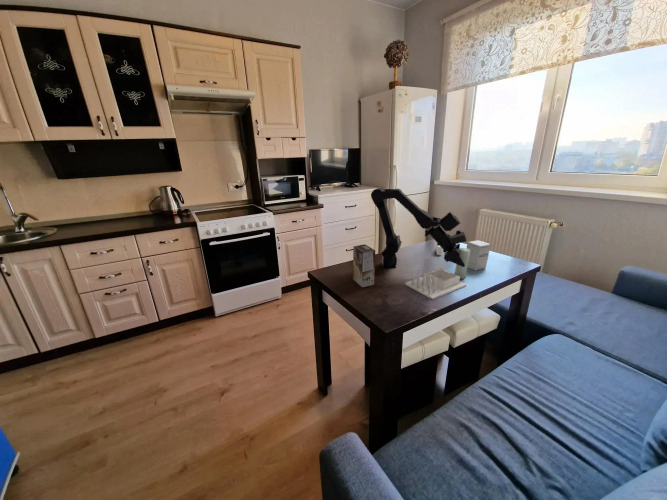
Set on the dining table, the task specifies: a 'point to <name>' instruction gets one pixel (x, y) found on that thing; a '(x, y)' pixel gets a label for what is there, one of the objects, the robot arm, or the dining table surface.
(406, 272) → the dining table surface
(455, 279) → the dish drying rack
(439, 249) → the napkin holder
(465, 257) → the sage green domed cylinder
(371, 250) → the coffee box
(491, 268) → the dining table surface
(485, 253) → the supplement box
